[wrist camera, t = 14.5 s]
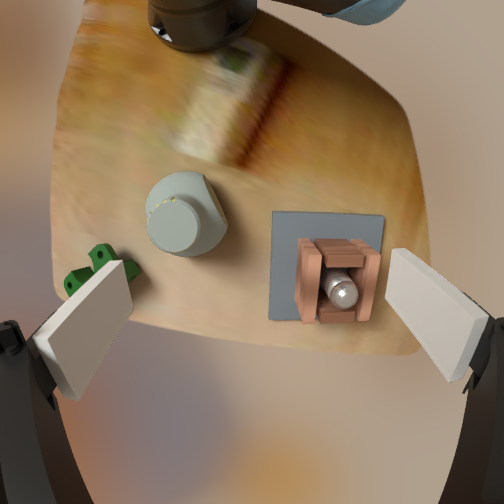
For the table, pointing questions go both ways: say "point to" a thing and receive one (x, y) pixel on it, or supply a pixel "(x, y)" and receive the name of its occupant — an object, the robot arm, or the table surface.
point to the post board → (313, 226)
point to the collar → (334, 255)
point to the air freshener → (185, 215)
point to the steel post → (338, 286)
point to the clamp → (97, 268)
